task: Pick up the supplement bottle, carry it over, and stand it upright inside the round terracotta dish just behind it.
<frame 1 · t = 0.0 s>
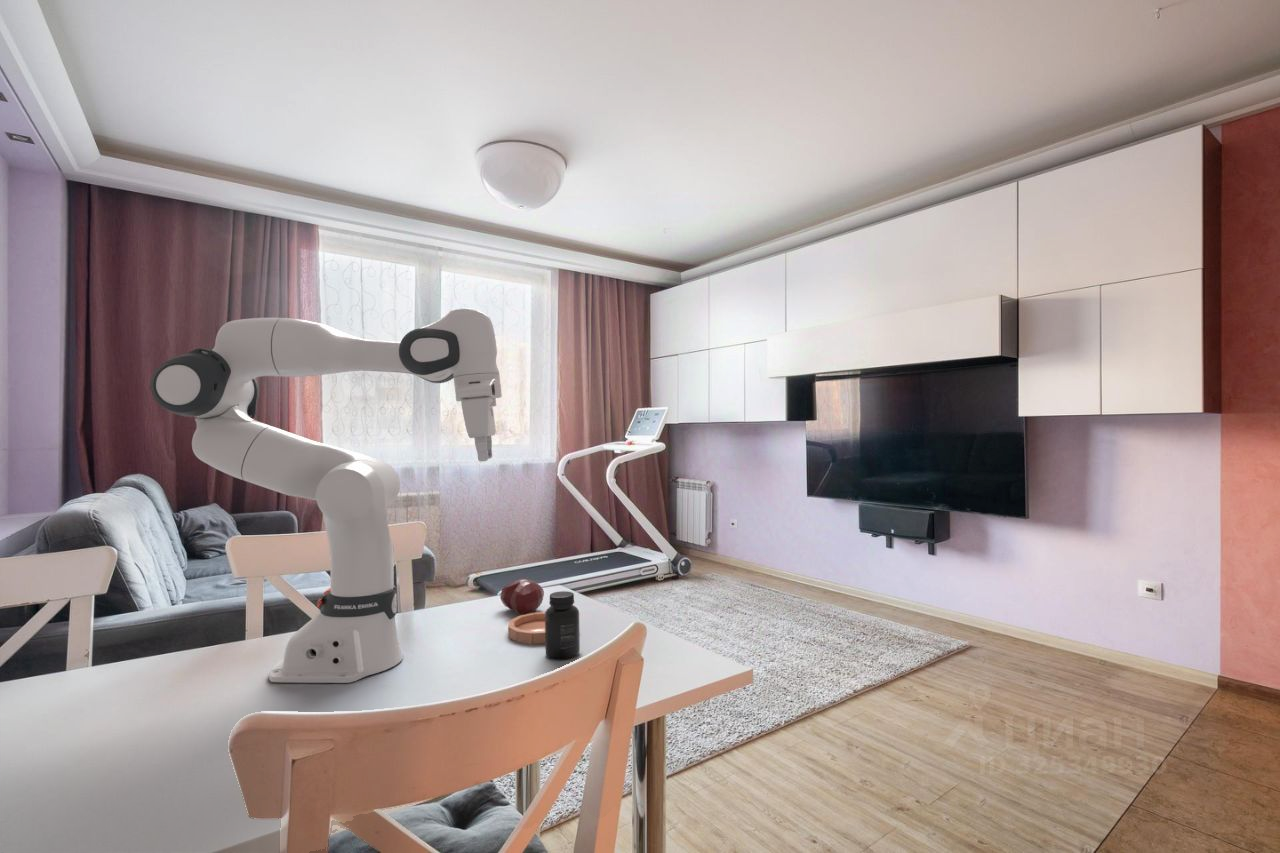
hand: (485, 459, 120), 39 cm above the table, fingers open, 8 cm apart
heart: (525, 612, 149), on the table
supplement bottle: (562, 655, 120), on the table
tray: (541, 631, 133), on the table
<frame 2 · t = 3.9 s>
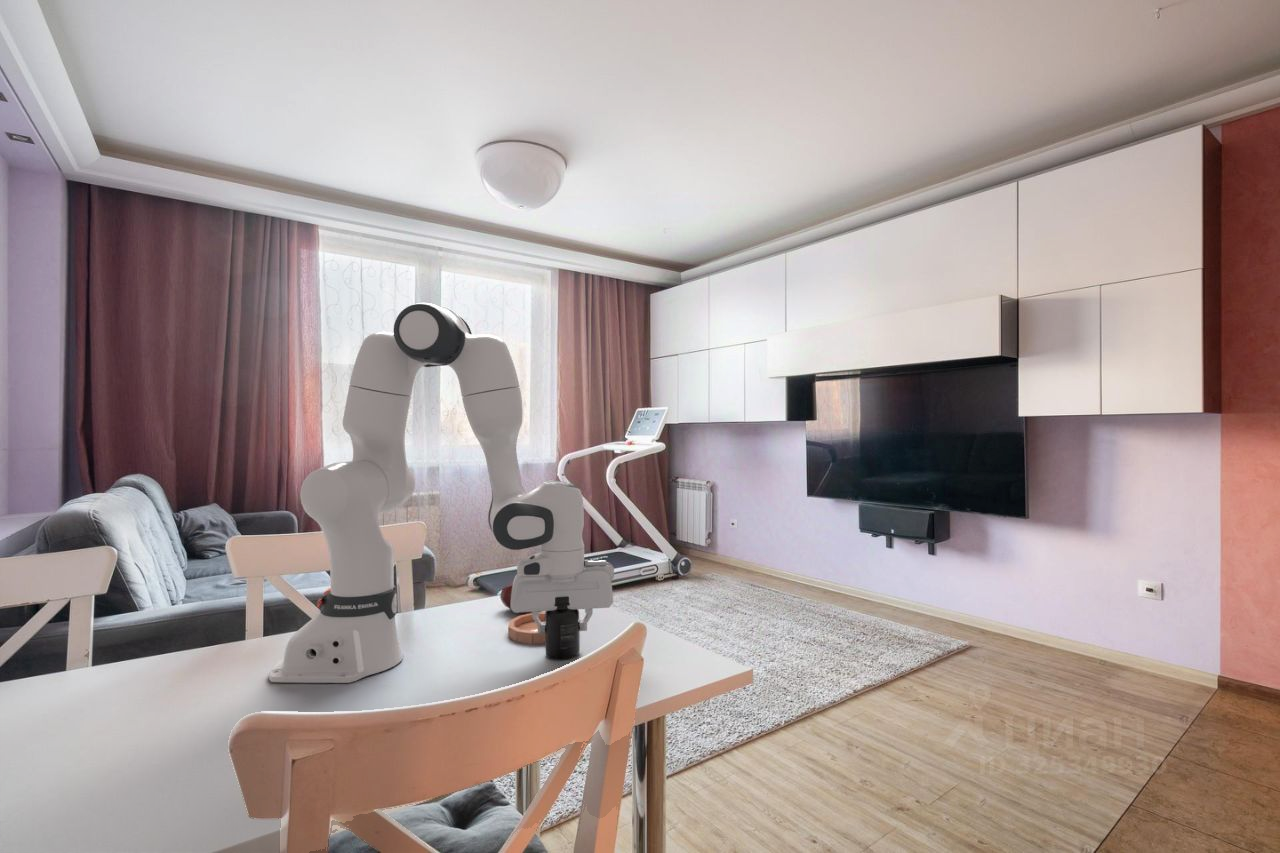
hand: (562, 631, 120), 5 cm above the table, fingers closed on supplement bottle, 7 cm apart
supplement bottle: (562, 655, 120), on the table, touching gripper
everything else where it was.
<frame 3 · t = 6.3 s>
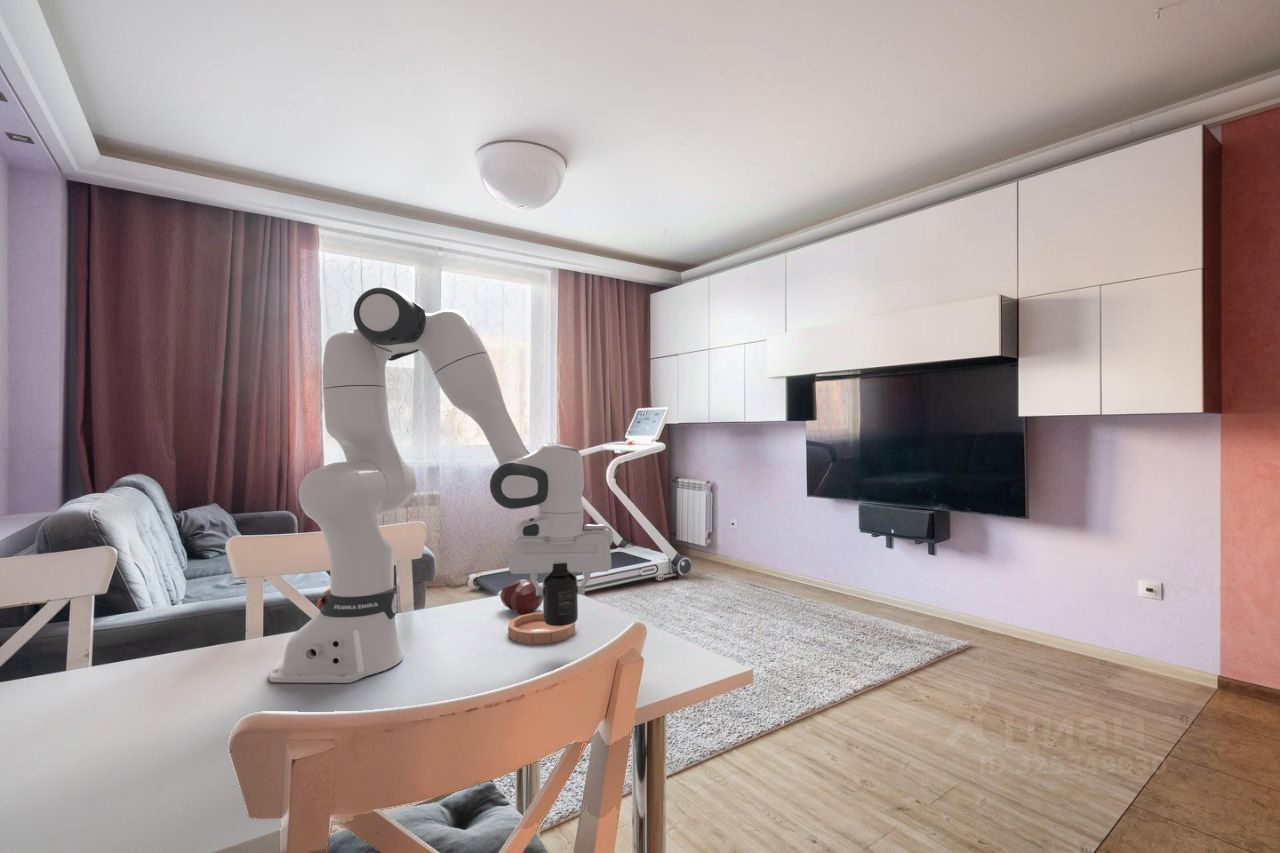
hand: (560, 594, 120), 12 cm above the table, fingers closed on supplement bottle, 7 cm apart
supplement bottle: (560, 622, 120), point 6 cm above the table, touching gripper
everything else where it was.
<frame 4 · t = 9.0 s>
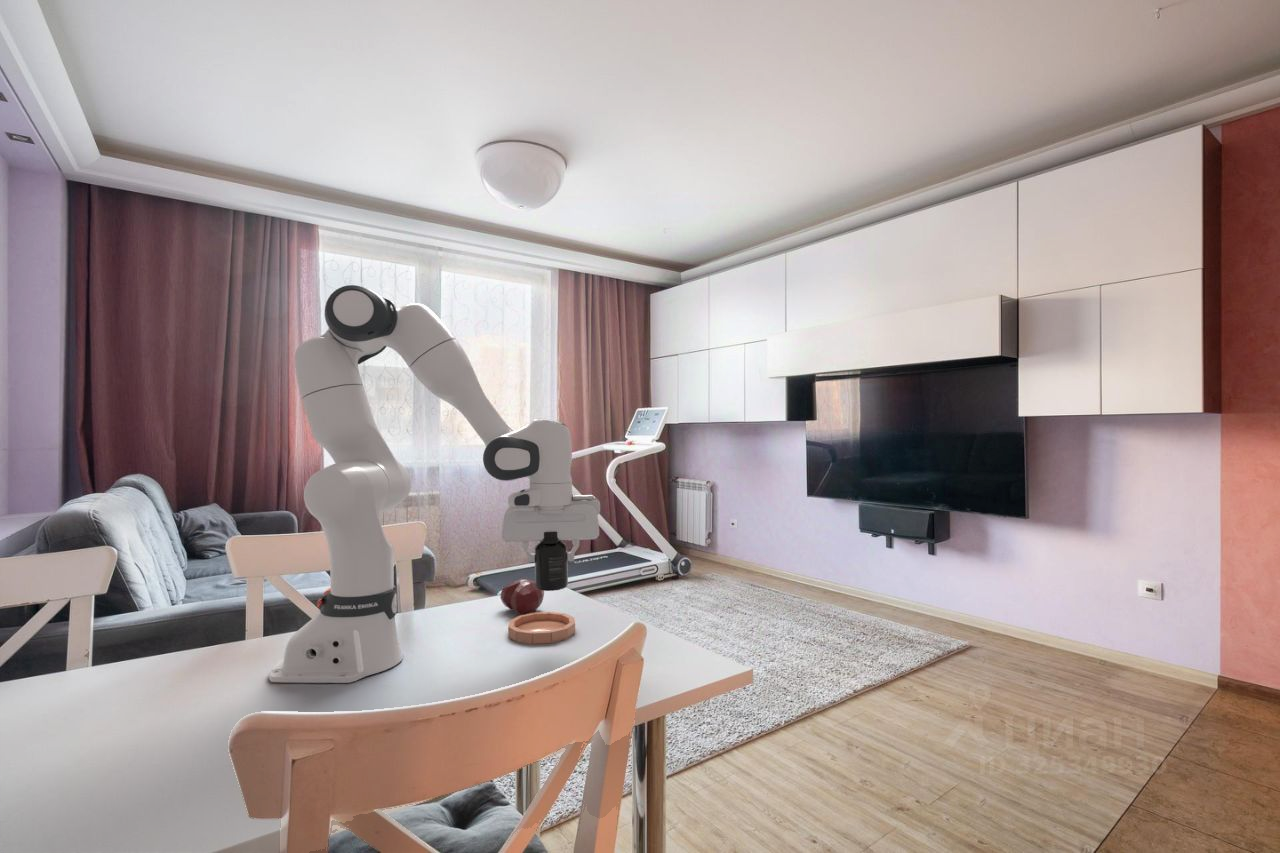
hand: (551, 561, 127), 17 cm above the table, fingers closed on supplement bottle, 7 cm apart
supplement bottle: (551, 588, 127), point 11 cm above the table, touching gripper
everything else where it was.
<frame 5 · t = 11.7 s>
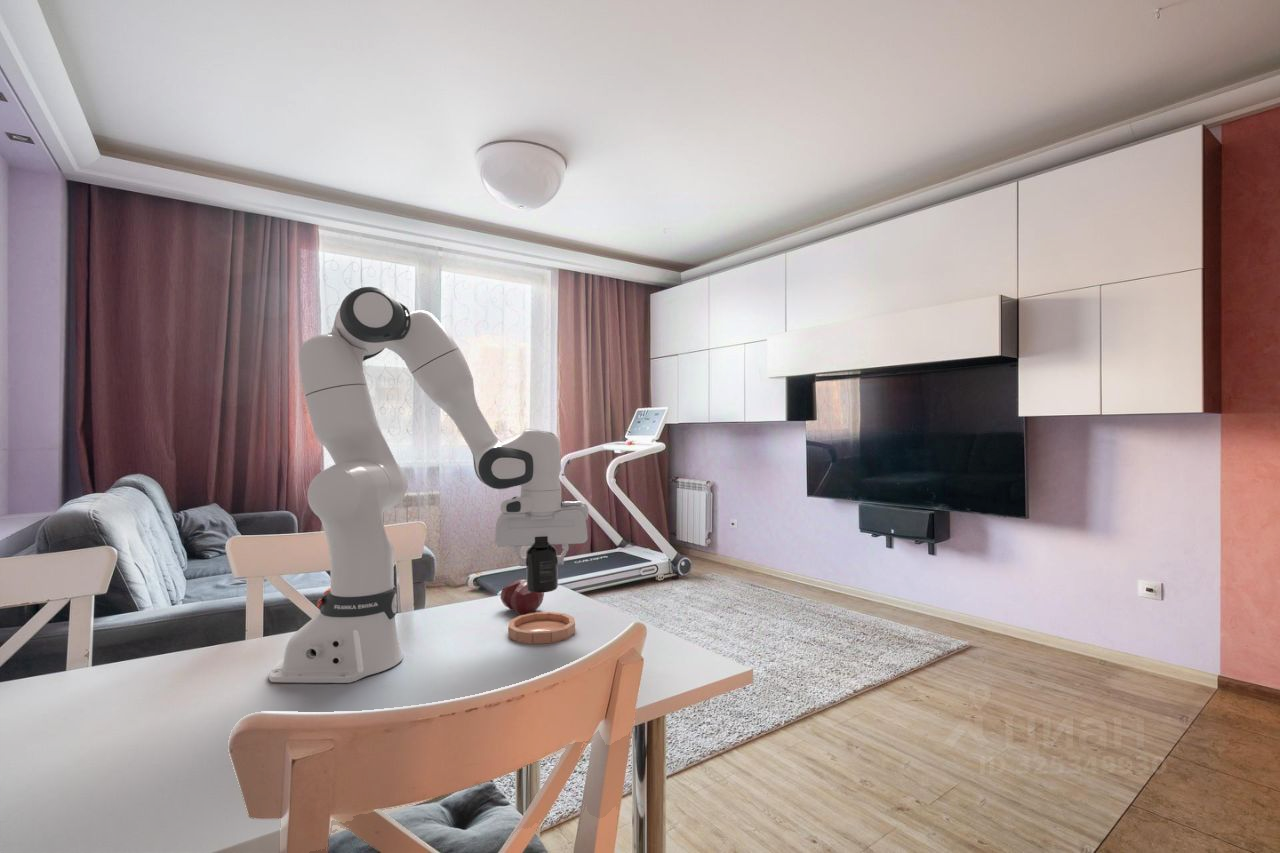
hand: (541, 564, 133), 15 cm above the table, fingers closed on supplement bottle, 7 cm apart
supplement bottle: (542, 590, 133), point 9 cm above the table, touching gripper
everything else where it was.
when the fingers open (6 cm above the table, at t = 14.0 s): supplement bottle stays where it is, resting on tray.
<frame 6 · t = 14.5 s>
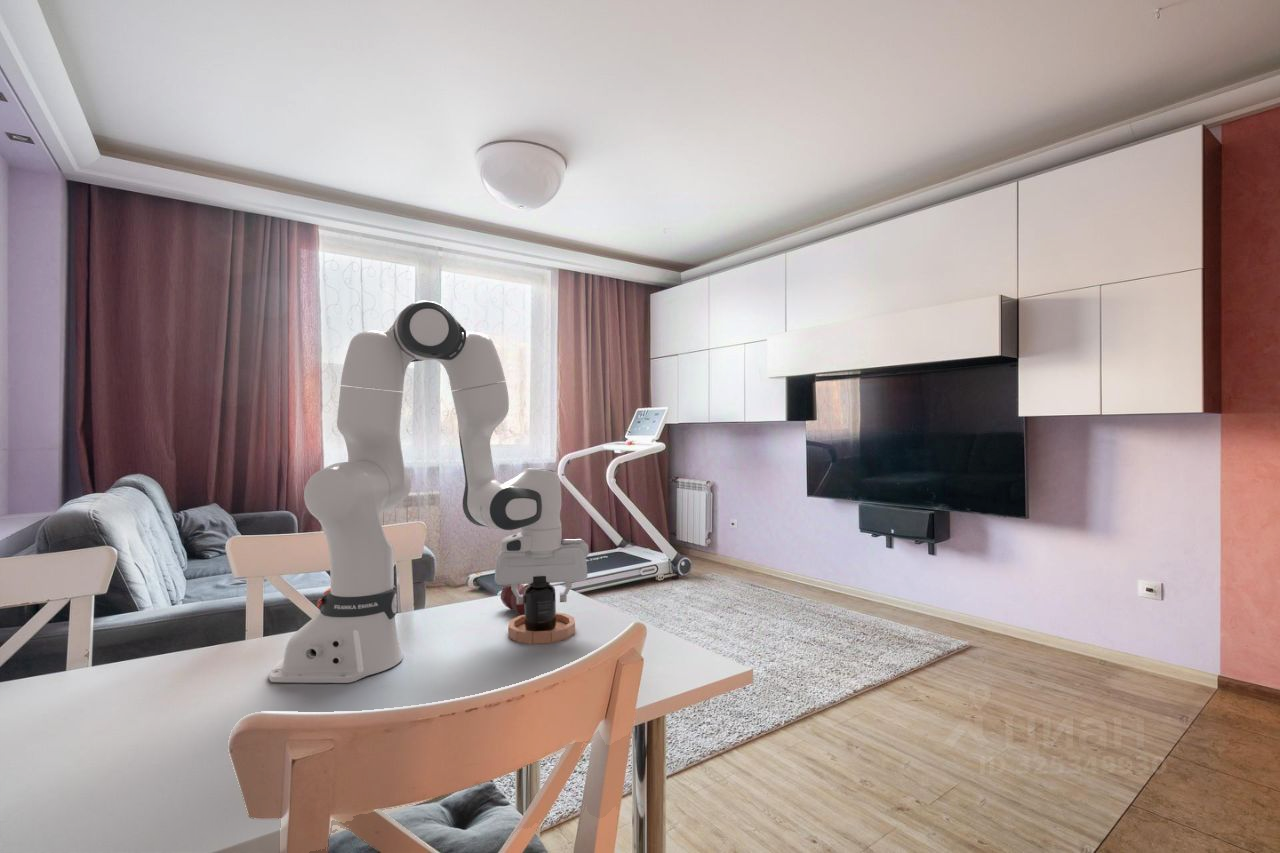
hand: (541, 602, 133), 6 cm above the table, fingers open, 8 cm apart
supplement bottle: (540, 629, 133), point 1 cm above the table, touching tray
everything else where it was.
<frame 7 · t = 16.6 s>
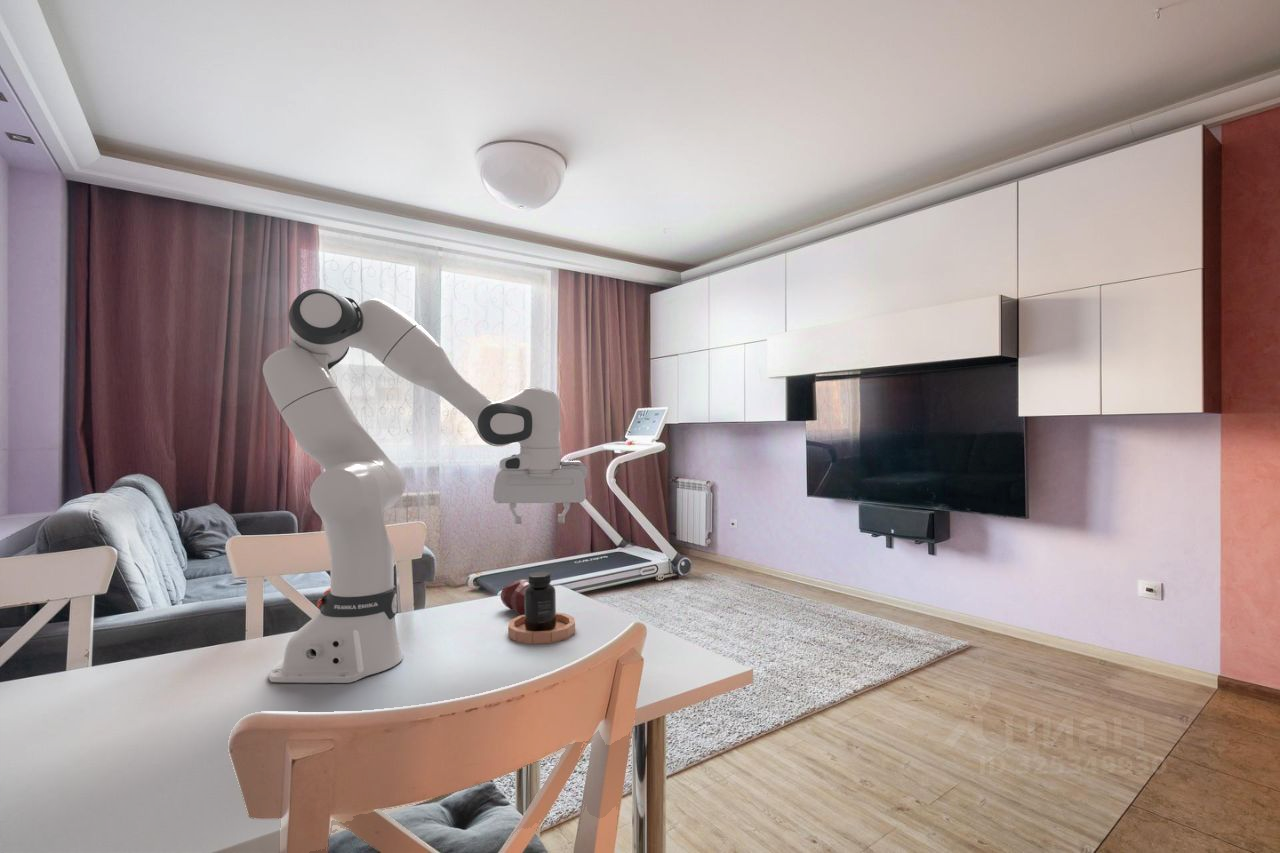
hand: (539, 523, 134), 24 cm above the table, fingers open, 8 cm apart
nothing on the table moved.
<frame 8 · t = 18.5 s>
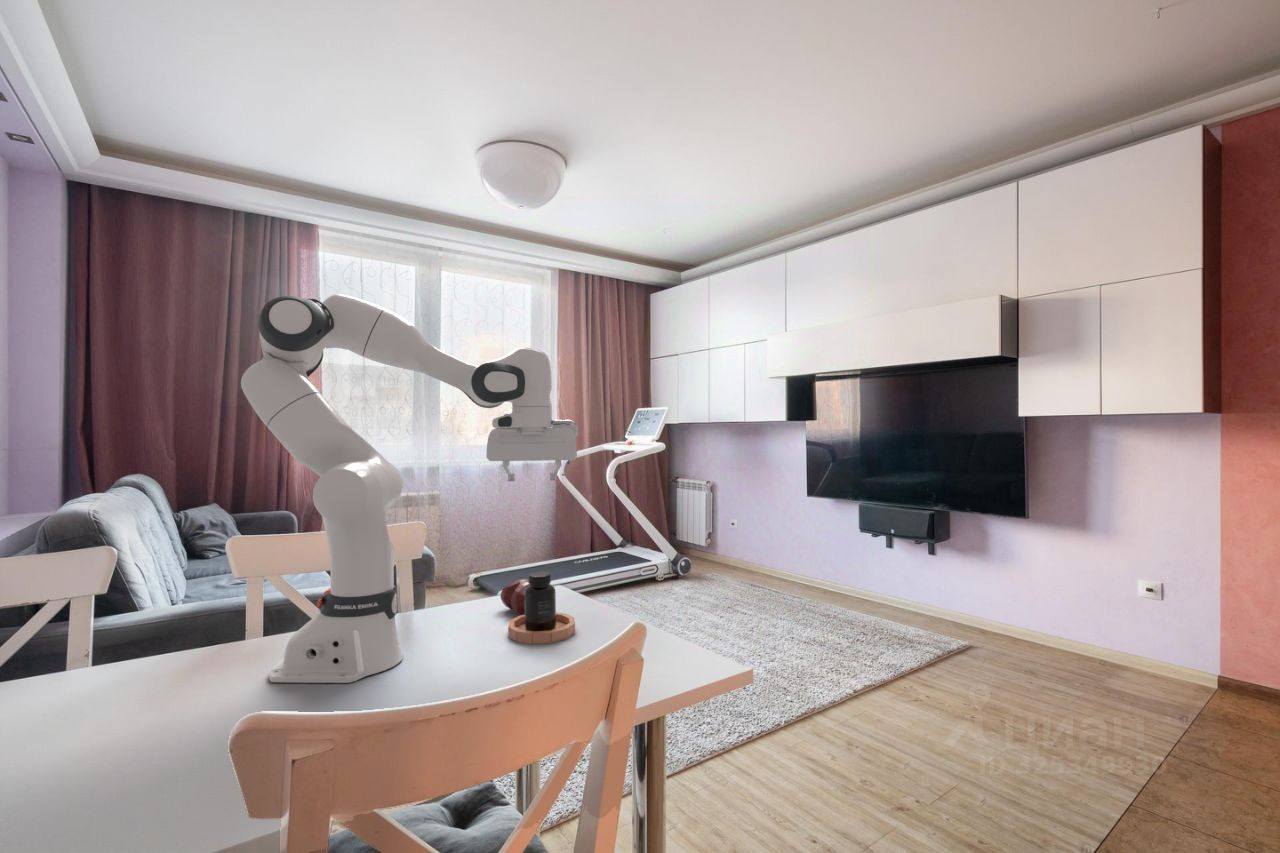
hand: (532, 480, 137), 33 cm above the table, fingers open, 8 cm apart
nothing on the table moved.
at the end: supplement bottle 0.3 cm off-centre on the tray, point 0.6 cm above the tray's base; supplement bottle tilted 0°; the gripper is holding nothing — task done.
